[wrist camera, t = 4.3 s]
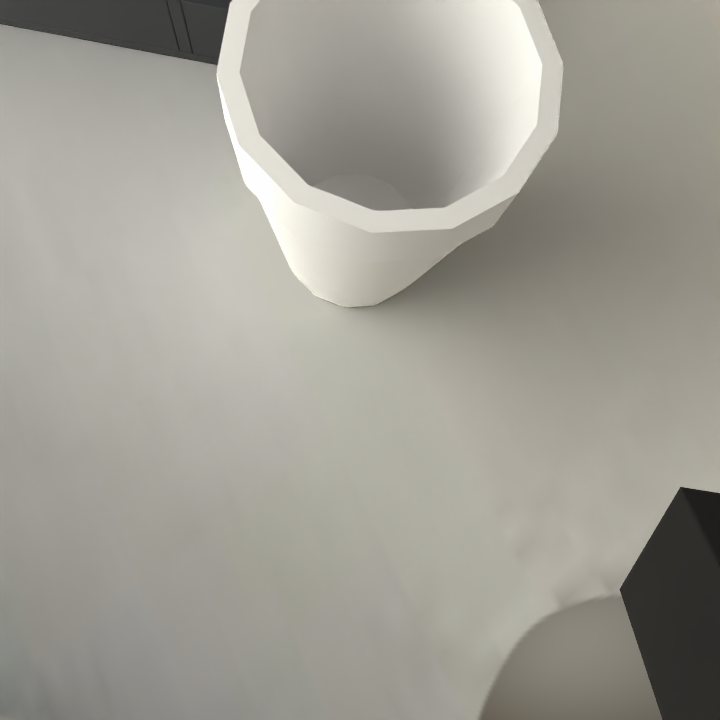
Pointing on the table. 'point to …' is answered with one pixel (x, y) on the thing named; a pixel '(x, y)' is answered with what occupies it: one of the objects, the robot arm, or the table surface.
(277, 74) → the foam cup
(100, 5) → the organizer
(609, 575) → the table surface
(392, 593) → the table surface
